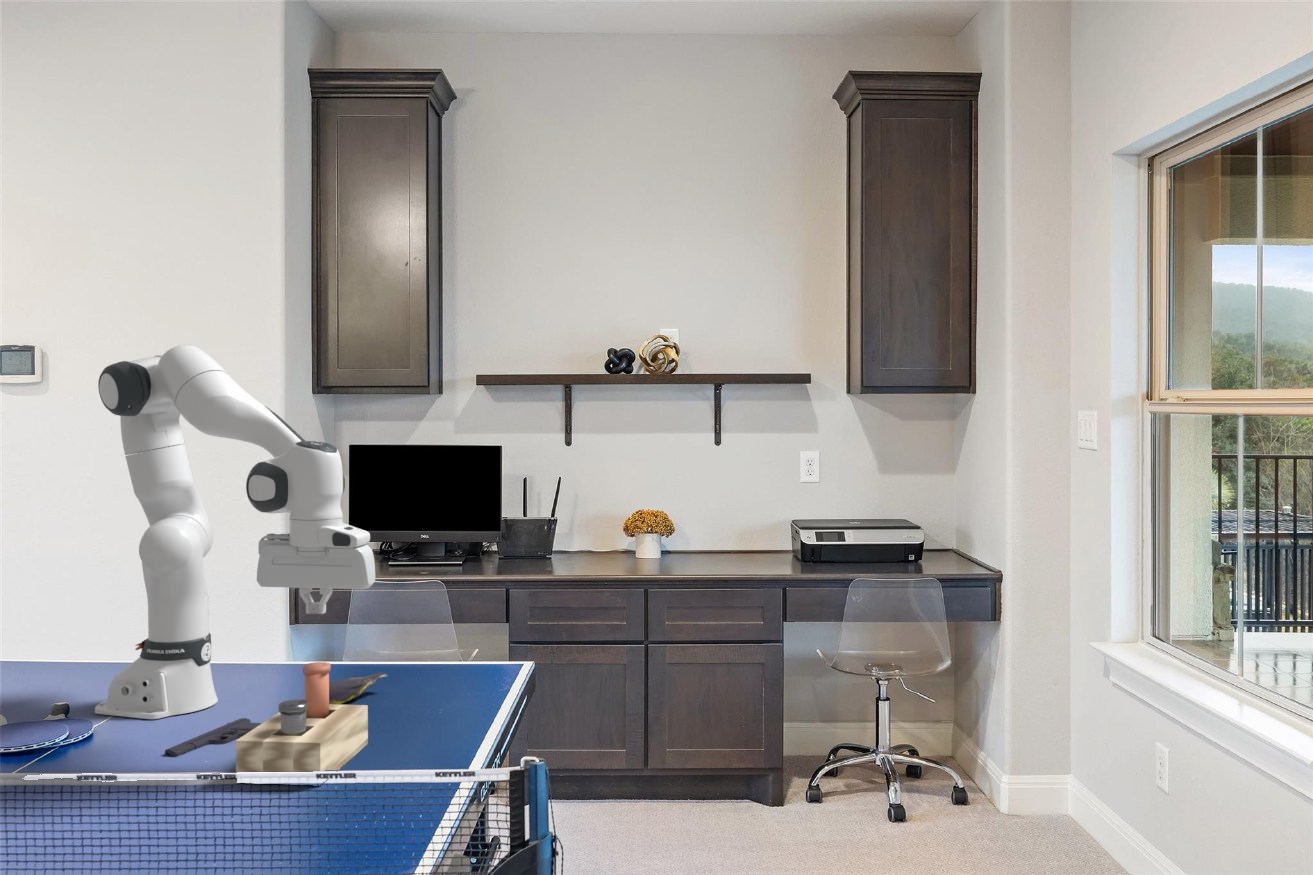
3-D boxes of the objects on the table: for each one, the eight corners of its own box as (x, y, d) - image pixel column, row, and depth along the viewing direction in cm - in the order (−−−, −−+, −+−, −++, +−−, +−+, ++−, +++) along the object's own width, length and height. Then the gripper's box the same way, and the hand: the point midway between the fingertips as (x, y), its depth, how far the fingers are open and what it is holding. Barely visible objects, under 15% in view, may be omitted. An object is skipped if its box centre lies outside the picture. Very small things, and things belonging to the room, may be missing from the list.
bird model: (296, 711, 189) (296, 687, 189) (377, 689, 205) (377, 666, 205) (311, 716, 186) (311, 691, 186) (392, 693, 202) (392, 670, 202)
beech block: (236, 783, 152) (235, 740, 152) (293, 741, 172) (292, 703, 172) (320, 786, 151) (320, 742, 151) (367, 743, 171) (367, 705, 171)
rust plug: (298, 726, 164) (298, 668, 163) (310, 717, 168) (309, 661, 168) (324, 726, 163) (323, 669, 163) (335, 718, 168) (334, 662, 168)
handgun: (288, 733, 178) (238, 726, 182) (288, 721, 178) (237, 714, 182) (215, 767, 161) (161, 758, 165) (215, 754, 161) (161, 746, 165)
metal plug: (273, 768, 155) (273, 707, 154) (286, 758, 159) (286, 699, 159) (300, 768, 154) (300, 708, 154) (313, 758, 159) (312, 699, 159)
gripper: (249, 535, 163) (249, 615, 163) (365, 537, 161) (365, 618, 161) (267, 531, 169) (267, 608, 169) (379, 533, 167) (378, 610, 168)
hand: (315, 613), depth 165 cm, fingers closed
